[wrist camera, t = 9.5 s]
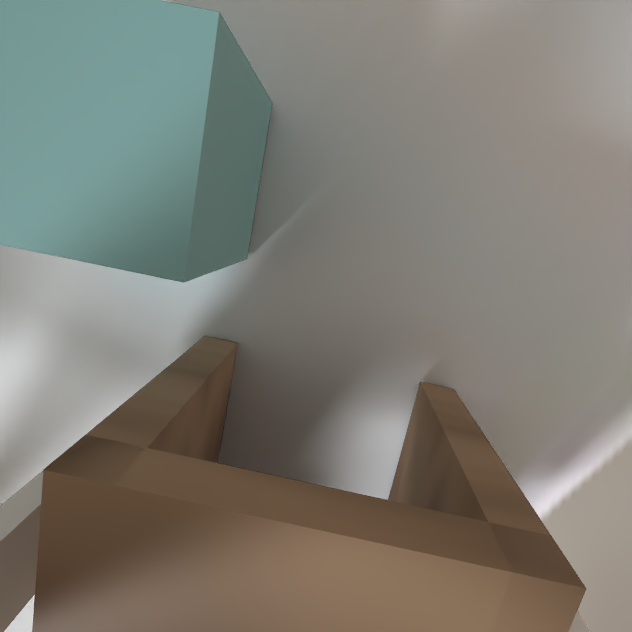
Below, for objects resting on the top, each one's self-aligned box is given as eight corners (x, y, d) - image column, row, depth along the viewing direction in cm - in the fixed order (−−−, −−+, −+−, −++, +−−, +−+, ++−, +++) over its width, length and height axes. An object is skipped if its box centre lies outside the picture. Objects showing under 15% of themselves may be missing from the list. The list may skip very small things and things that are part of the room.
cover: (393, 596, 17) (440, 944, 9) (172, 548, 17) (17, 846, 9) (453, 388, 15) (586, 588, 7) (204, 335, 15) (43, 469, 7)
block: (247, 258, 15) (183, 282, 9) (104, 229, 15) (-51, 233, 9) (272, 102, 14) (219, 12, 8) (118, 72, 14) (-49, -41, 8)
